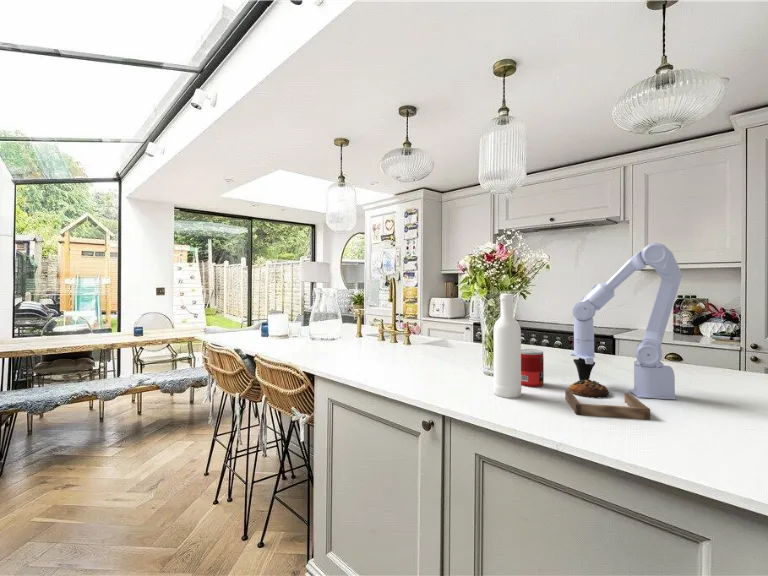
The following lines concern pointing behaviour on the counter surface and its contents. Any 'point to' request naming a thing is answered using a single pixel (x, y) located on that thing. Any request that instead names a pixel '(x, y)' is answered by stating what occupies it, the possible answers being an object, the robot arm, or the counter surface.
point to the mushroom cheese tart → (589, 389)
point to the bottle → (507, 351)
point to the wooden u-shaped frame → (610, 408)
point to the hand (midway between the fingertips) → (584, 382)
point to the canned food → (532, 367)
